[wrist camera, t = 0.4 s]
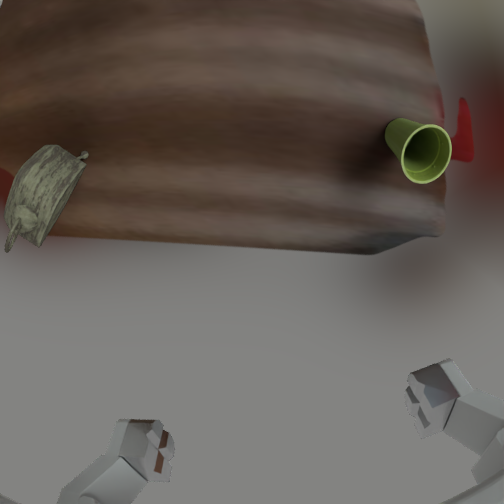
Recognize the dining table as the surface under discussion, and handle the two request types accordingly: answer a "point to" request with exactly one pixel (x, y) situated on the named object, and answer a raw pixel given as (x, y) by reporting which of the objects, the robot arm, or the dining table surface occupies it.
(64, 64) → the dining table surface
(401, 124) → the plant pot
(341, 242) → the dining table surface
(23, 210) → the tabletop clock
